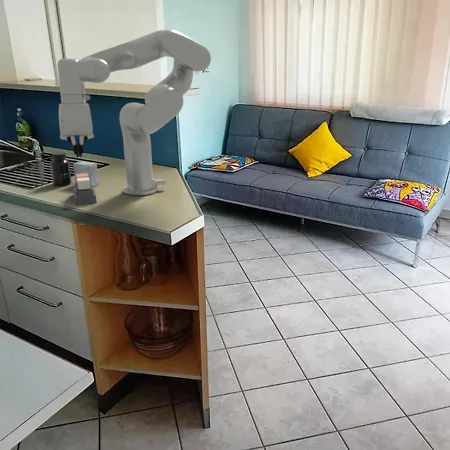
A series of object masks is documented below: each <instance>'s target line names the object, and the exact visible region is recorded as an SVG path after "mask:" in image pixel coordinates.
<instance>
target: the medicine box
mask: <svg viewBox="0 0 450 450" xmlns="http://www.w3.org/2000/svg"><path fill="white" fill-rule="evenodd" d="M73 172H74V180H75V181H74V183H77V180H76V174H84V173H88V177H89V180H90V182H91V185H92V186H93V187H94V188H95V187H97V186H100V181H99V172H98V164H97V162H89V161H77V162H74V163H73Z"/></svg>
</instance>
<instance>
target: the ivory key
mask: <svg viewBox="0 0 450 450" xmlns="http://www.w3.org/2000/svg"><path fill="white" fill-rule="evenodd" d="M77 186H78V190H82V189H90V180H89V177H85V178H77Z"/></svg>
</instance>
